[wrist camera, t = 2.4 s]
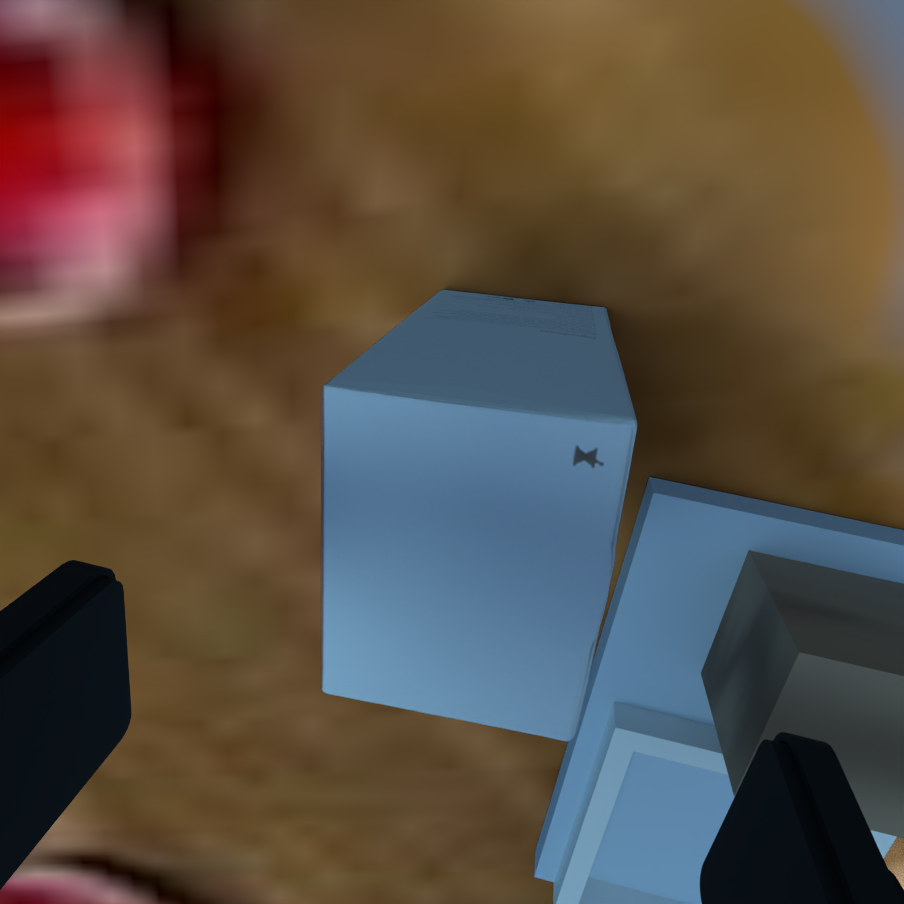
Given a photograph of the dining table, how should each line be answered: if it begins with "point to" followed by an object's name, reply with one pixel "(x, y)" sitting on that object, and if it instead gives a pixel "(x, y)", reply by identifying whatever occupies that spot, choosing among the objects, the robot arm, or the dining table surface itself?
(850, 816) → the robot arm
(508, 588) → the small box
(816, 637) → the dark gray block
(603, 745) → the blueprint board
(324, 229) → the dining table surface
